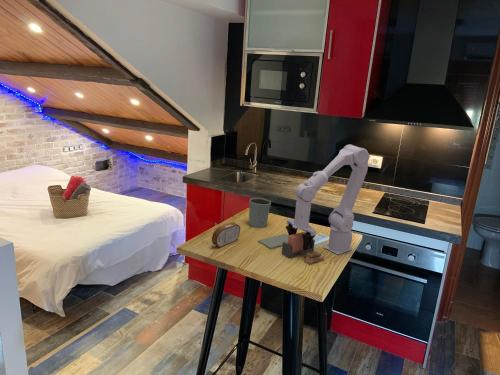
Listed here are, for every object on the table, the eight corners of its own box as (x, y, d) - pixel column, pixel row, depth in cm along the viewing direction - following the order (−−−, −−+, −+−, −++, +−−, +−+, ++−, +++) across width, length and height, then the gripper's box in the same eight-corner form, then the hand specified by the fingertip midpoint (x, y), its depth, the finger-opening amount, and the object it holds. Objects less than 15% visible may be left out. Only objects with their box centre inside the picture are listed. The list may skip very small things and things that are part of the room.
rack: (305, 246, 157) (306, 235, 155) (313, 251, 153) (315, 240, 152) (281, 253, 149) (282, 242, 147) (289, 258, 145) (291, 246, 144)
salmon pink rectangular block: (304, 248, 155) (306, 231, 153) (308, 251, 153) (310, 233, 151) (286, 254, 149) (288, 235, 147) (291, 256, 147) (293, 237, 145)
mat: (285, 234, 168) (285, 233, 168) (298, 241, 162) (298, 240, 161) (257, 241, 158) (257, 240, 158) (270, 249, 152) (270, 247, 152)
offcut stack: (318, 258, 148) (319, 249, 147) (323, 261, 146) (324, 252, 145) (303, 262, 143) (304, 254, 142) (309, 265, 141) (310, 257, 140)
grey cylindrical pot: (245, 220, 181) (247, 197, 178) (265, 220, 184) (267, 197, 181) (250, 228, 172) (252, 204, 169) (271, 228, 174) (273, 204, 171)
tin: (235, 237, 161) (236, 219, 158) (240, 240, 159) (242, 221, 157) (210, 247, 149) (211, 228, 147) (216, 250, 147) (217, 230, 145)
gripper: (282, 210, 150) (279, 241, 153) (308, 221, 139) (304, 254, 142) (295, 207, 154) (291, 238, 157) (321, 218, 143) (317, 251, 147)
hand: (298, 245), depth 150 cm, fingers open, 7 cm apart
